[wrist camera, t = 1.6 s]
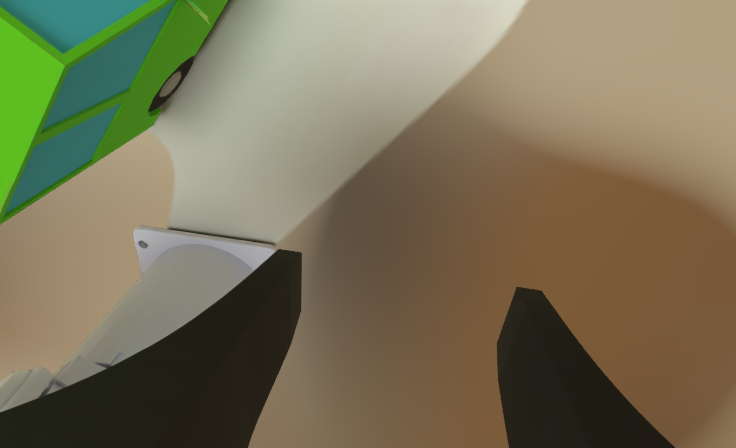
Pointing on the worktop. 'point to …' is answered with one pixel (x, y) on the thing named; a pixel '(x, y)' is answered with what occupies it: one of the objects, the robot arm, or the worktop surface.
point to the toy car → (85, 82)
